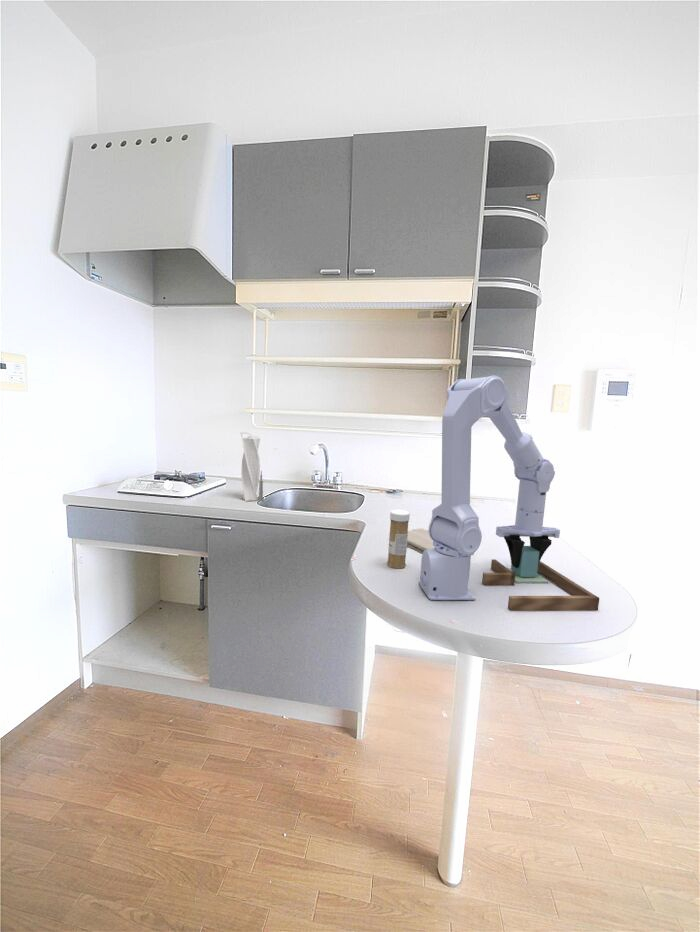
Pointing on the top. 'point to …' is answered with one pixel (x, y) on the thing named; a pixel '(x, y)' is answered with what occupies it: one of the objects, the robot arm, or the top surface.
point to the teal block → (527, 562)
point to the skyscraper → (251, 469)
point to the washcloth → (419, 540)
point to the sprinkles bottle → (398, 538)
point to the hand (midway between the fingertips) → (524, 566)
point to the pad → (529, 579)
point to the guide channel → (576, 601)
